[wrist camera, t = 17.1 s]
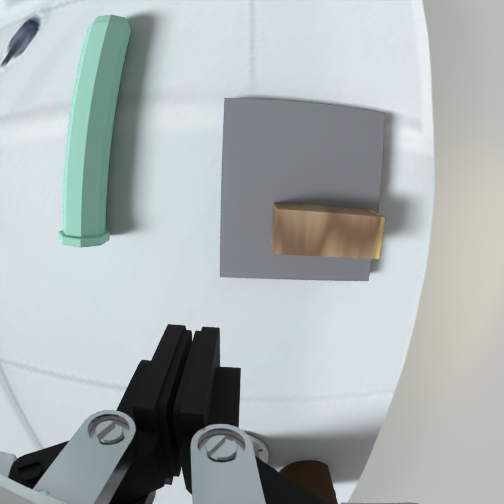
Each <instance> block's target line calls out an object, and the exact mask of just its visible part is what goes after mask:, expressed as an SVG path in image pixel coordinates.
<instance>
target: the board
mask: <svg viewBox="0 0 504 504" xmlns="http://www.w3.org/2000/svg"><path fill="white" fill-rule="evenodd" d="M384 118H385V113H382V112H376V111H370V110H364V109H358V108H351V107H344V106H336V105H328V104H319V103H309V102H298V101H286V100H270V99H247V98H225V101H224V123H223V150H222V182H221V229H220V277H234V278H262V279H294V280H335V281H368V280H369V274H370V268H371V261H372V259H364V258H344V257H323V256H303V255H282V254H273V249H272V244H271V235H272V220H273V205H274V202H276V203H292V204H307V205H320V206H333V207H345V208H357V209H368V210H372V211H374V212H376V213H378V207H379V198H380V187H381V175H382V161H383V144H384Z"/></svg>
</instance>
